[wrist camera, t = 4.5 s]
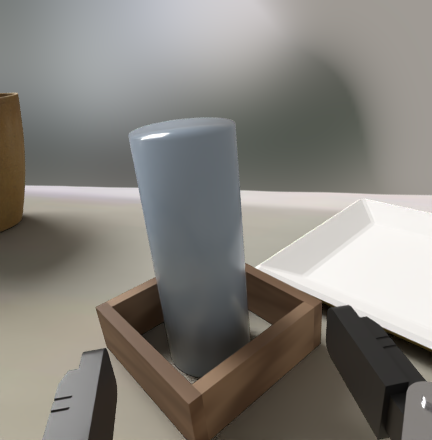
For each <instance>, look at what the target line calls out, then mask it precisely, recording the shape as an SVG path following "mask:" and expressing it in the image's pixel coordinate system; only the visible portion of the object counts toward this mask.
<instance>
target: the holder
mask: <svg viewBox="0 0 432 440" xmlns="http://www.w3.org/2000/svg"><path fill="white" fill-rule="evenodd" d="M245 270H246V284H247V298H248V310H250V311H252V312H253V313H255V314H257V315H258V316H260V317H261V318H263V319H265V320H266V321H268V322H269V323H271V324H273V325H272V326H270V327H269V328H268V329H266V330H265V331H264V332H262V333H261V334H260V335H258V336H257V337H256V338H254V339H253V340H251V341H250V342H249V343H247V344H246V345H245V346H243V347H242V348H241V349H239V350H238V351H237V352H235V353H234V354H233V355H231V356H230V357H229V358H227V359H226V360H224V361H223V362H222V363H220V364H219V365H218V366H216V367H215V368H214V369H212V370H211V371H210V372H208V373H207V374H206V375H204V376H203V377H201V378H200V379H199V380H197V381H196V382H195V383H193V384H191V383H190V382H189V381H188V380H187V379H186V378H185V377H184V376H182V375H181V374H180V373H179V372H178V371H177V370H176V369H175V368H174V367H173V366H172V365H171V364H170V363H169V362H168V361H167V360H166V359H165V358H164V357H163V356H162V355H161V354H160V353H159V352H158V351H157V350H156V349H155V348H154V347H153V346H152V345H151V344H149V343H148V342H147V341H146V340H145V339H144V338H143V337H142V336H141V335H142V334H143V333H145V332H147V331H149V330H150V329H152V328H154V327H155V326H157V325H159V324H160V323H162V322H164V318H163V313H162V308H161V302H160V297H159V292H158V287H157V282H156V277H155V278H153V279H151V280H149V281H147V282H145V283H143V284H141V285H139V286H137V287H135V288H133V289H131V290H129V291H127V292H125V293H123V294H121V295H119V296H117V297H115V298H113V299H111V300H109V301H107V302H105V303H103V304H101V305H99V306H97V307H96V311H97V314H98V318H99V321H100V325H101V328H102V332H103V335H104V339H105V342H106V346H107V347H108V348H109V350H110V351H111V352H112V353H113V354H114V355H115V357H116V358H117V359H118V360H119V361H120V362H121V364H122V365H123V366H124V367H125V368H126V369H127V371H128V372H129V373H130V374H131V375H132V376H133V378H134V379H135V380H136V381H137V382H138V383H139V385H140V386H141V387H142V388H143V389H144V390H145V392H146V393H147V394H148V395H149V396H150V397H151V399H152V400H153V401H154V402H155V403H156V404H157V406H158V407H159V408H160V409H161V410H162V411H163V412H164V414H165V415H166V416H167V417H168V418H169V419H170V421H171V422H172V423H173V424H174V425H175V426H176V428H177V429H178V430H179V431H180V432H181V433H182V435H183V436H184V437H185V438H186V439H187V440H211V439H212V438H213V437H214V436H215V435H217V434H218V433H219V432H220V431H221V430H222V429H223V428H225V427H226V426H227V425H228V424H229V423H230V422H231V421H233V420H234V419H235V418H236V417H237V416H238V415H239V414H241V413H242V412H243V411H244V410H245V409H246V408H247V407H249V406H250V405H251V404H252V403H253V402H254V401H255V400H257V399H258V398H259V397H260V396H261V395H262V394H263V393H265V392H266V391H267V390H268V389H269V388H270V387H271V386H273V385H274V384H275V383H276V382H277V381H278V380H279V379H281V378H282V377H283V376H284V375H285V374H286V373H287V372H289V371H290V370H291V369H292V368H293V367H294V366H295V365H297V364H298V363H299V362H300V361H301V360H302V359H303V358H305V357H306V356H307V355H308V354H309V353H310V352H311V351H313V350H314V349H315V348H316V347H317V346H318V345H319V344H321V319H322V301H321V300H319V299H317V298H315V297H313V296H311V295H309V294H307V293H305V292H303V291H301V290H299V289H296V288H294V287H292V286H290V285H288V284H286V283H284V282H282V281H280V280H278V279H276V278H274V277H272V276H270V275H268V274H266V273H264V272H262V271H260V270H258V269H256V268H254V267H252V266H250V265H248V264H246V263H245Z"/></svg>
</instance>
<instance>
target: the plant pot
mask: <svg viewBox="0 0 432 440" xmlns="http://www.w3.org/2000/svg"><path fill="white" fill-rule="evenodd" d="M24 192H25V151H24V137H23V127H22V120H21V111H20V104H19V97H18V93H0V232H1V231H4V230H6V229H9V228H11V227H13V226H15V225H16V224H18V223H19V222H20V221H21V219H22V215H23V205H24Z"/></svg>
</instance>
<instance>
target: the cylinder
mask: <svg viewBox="0 0 432 440" xmlns="http://www.w3.org/2000/svg"><path fill="white" fill-rule="evenodd" d="M129 141H130V146H131V151H132V156H133V161H134V167H135V172H136V177H137V182H138V188H139V193H140V198H141V203H142V209H143V214H144V219H145V224H146V229H147V235H148V240H149V245H150V250H151V255H152V261H153V266H154V271H155V276H156V282H157V287H158V292H159V297H160V302H161V308H162V313H163V318H164V323H165V329H166V334H167V339H168V344H169V349H170V355H171V358H172V361H173V363H174V364H175V365H176V367H177V368H178V369H180V370H181V371H183V372H184V373H186V374H189V375H191V376H195V377H203V376H204V375H206V374H207V373H208V372H210V371H211V370H212V369H214V368H215V367H216V366H218V365H219V364H220V363H222V362H223V361H224V360H226V359H227V358H229V357H230V356H231V355H233V354H234V353H235V352H237V351H238V350H239V349H241V348H242V347H243V346H245V345H246V344H247V343H249V342H250V327H249V313H248V298H247V284H246V270H245V255H244V241H243V226H242V212H241V198H240V184H239V169H238V157H237V156H238V155H237V142H236V141H237V140H236V127H235V122H234V121H232V120H230V119H224V118H188V119H179V120H171V121H165V122H159V123H155V124H151V125H147V126H143V127H140V128H138V129H135V130H133V131H132V132H130V133H129Z"/></svg>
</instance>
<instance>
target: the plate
mask: <svg viewBox="0 0 432 440" xmlns="http://www.w3.org/2000/svg"><path fill="white" fill-rule="evenodd" d="M255 268H256V269H258V270H260V271H262V272H264V273H266V274H268V275H270V276H272V277H274V278H276V279H278V280H280V281H282V282H284V283H286V284H288V285H290V286H292V287H294V288H296V289H299V290H301V291H303V292H305V293H307V294H309V295H311V296H313V297H315V298H317V299H319V300H321V301H322V303H324V304H327V305H329V306H331V307H338V306H344V305H350V306H351V307H352V308H353V309H354V310H355V312H356V313H357V314H358V316H359V317H366V316H367V317H368V318H370V319H372V320H373V321H375V322H376V323H378V324H379V325H380V326H381V327H382V328H383V329H384V331H386V332H388V333H391V334H393V335H395V336H397V337H400V338H402V339H404V340H406V341H408V342H411V343H413V344H415V345H417V346H419V347H422V348H424V349H426V350H428V351H430V352H432V213H429V212H424V211H420V210H415V209H411V208H406V207H401V206H397V205H392V204H388V203H383V202H379V201H374V200H369V199H365V198H364V199H359V200H358V201H356V202H354V203H353V204H351V205H350V206H348V207H347V208H345V209H344V210H342V211H341V212H339V213H338V214H336V215H335V216H333V217H331V218H330V219H328V220H327V221H325V222H324V223H322V224H321V225H319V226H318V227H316V228H315V229H313V230H312V231H310V232H308V233H307V234H305V235H304V236H302V237H301V238H299V239H298V240H296V241H295V242H293V243H292V244H290V245H289V246H287V247H286V248H284V249H282V250H281V251H279V252H278V253H276V254H275V255H273V256H272V257H270V258H269V259H267V260H266V261H264V262H263V263H261V264H259V265H258V266H256V267H255Z"/></svg>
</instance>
